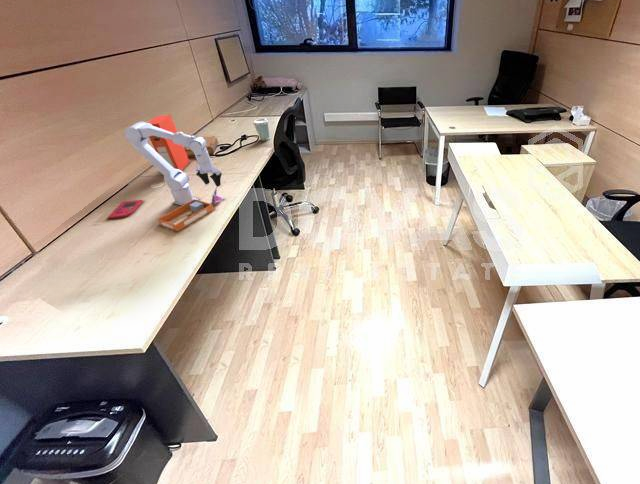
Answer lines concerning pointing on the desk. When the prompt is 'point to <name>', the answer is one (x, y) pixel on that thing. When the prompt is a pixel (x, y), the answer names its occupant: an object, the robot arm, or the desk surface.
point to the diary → (209, 146)
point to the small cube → (196, 206)
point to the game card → (216, 197)
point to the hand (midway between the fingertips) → (213, 184)
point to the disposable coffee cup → (262, 128)
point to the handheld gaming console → (125, 209)
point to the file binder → (168, 143)
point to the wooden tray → (182, 211)
